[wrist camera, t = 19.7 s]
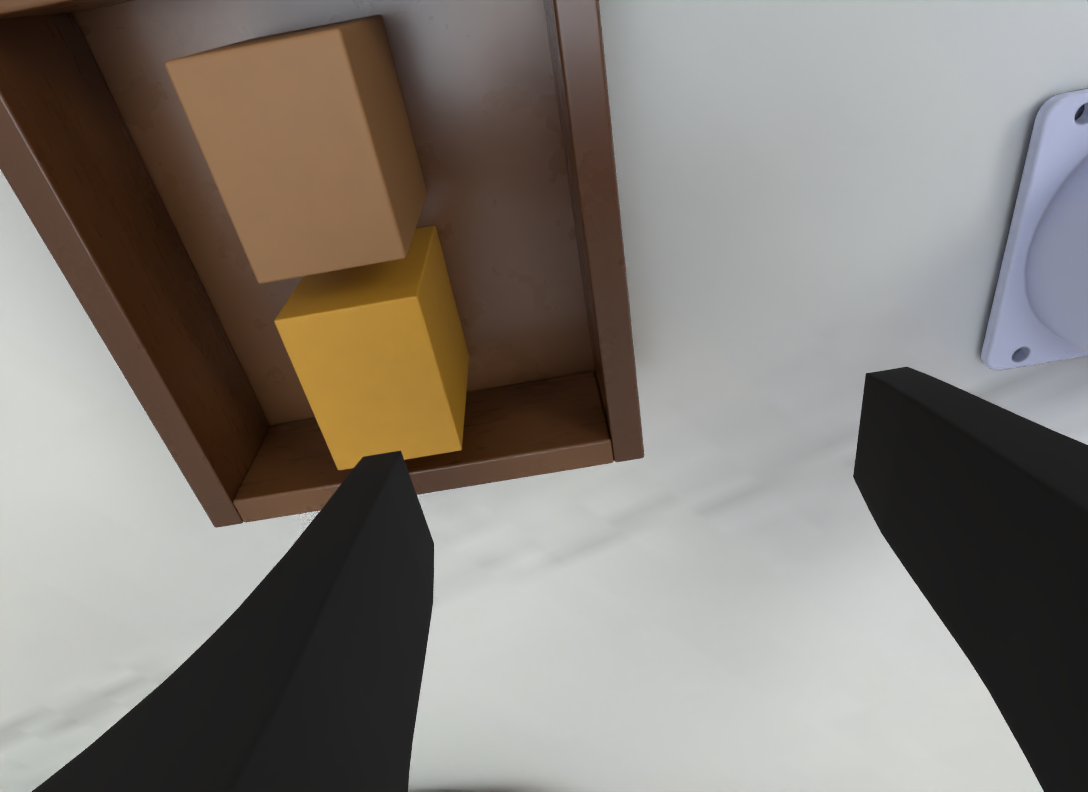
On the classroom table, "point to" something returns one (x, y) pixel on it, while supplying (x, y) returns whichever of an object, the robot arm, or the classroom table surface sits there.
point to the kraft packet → (307, 146)
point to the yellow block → (381, 355)
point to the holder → (250, 307)
